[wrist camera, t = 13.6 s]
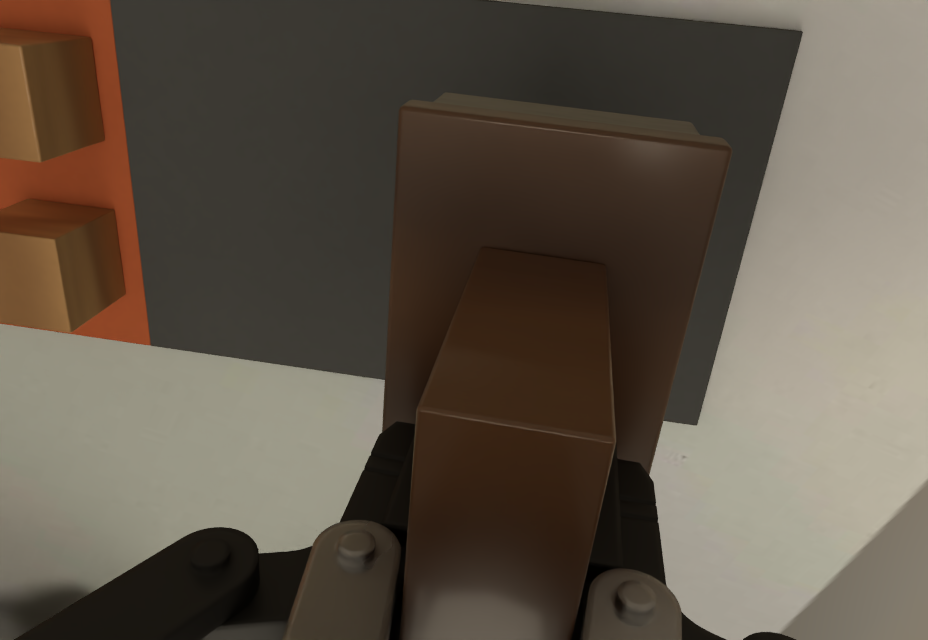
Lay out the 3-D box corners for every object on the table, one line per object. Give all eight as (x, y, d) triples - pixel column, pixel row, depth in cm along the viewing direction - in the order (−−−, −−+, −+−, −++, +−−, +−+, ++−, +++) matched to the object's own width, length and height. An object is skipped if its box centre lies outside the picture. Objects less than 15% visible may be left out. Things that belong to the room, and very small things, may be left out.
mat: (800, 31, 25) (803, 31, 24) (695, 422, 32) (697, 426, 31) (-276, -75, 28) (-284, -75, 28) (-158, 297, 35) (-163, 299, 35)
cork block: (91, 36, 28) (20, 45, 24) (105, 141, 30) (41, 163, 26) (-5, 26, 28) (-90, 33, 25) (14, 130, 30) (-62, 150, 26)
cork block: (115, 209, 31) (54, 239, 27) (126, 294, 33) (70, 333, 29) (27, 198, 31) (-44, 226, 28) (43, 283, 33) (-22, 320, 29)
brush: (435, 80, 15) (270, 192, 7) (705, 112, 14) (839, 272, 7) (401, 542, 20) (288, 884, 13) (595, 578, 20) (600, 958, 12)
